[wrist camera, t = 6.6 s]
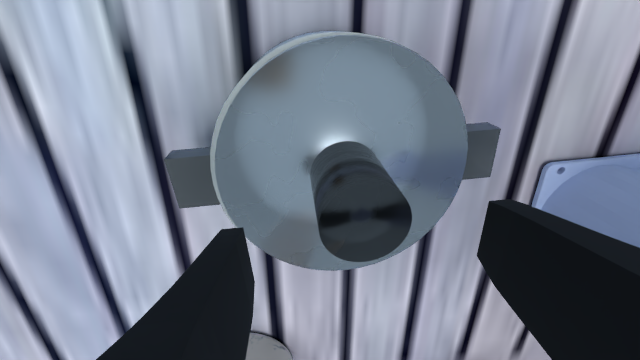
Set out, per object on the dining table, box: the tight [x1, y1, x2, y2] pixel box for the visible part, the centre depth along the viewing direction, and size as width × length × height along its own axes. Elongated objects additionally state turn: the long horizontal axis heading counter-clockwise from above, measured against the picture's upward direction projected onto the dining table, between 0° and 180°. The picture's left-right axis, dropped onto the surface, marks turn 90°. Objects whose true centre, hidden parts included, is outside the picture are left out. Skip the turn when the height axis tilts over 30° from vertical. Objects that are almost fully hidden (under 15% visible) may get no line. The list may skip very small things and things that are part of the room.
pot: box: [164, 31, 501, 245], centre depth 15 cm, size 15×11×5 cm
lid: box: [215, 35, 468, 271], centre depth 11 cm, size 10×10×4 cm
